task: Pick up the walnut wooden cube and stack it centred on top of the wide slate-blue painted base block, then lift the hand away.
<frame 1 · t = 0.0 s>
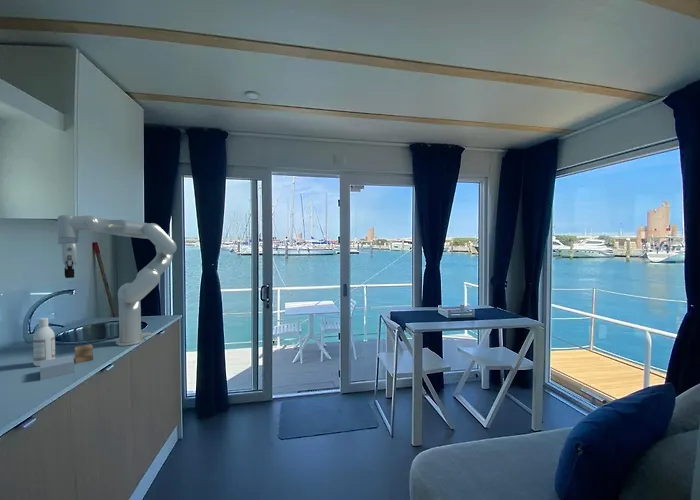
hand: (69, 276, 153), 37 cm above the worktop, tool pointing down, fingers open, 9 cm apart
walnut cube: (84, 360, 145), on the worktop
bath foam: (44, 364, 141), on the worktop
base block: (57, 373, 131), on the worktop
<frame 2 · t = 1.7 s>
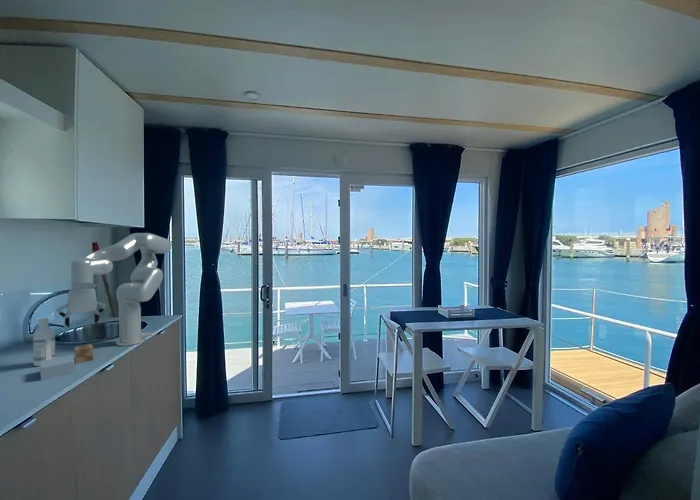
hand: (82, 324, 144), 16 cm above the worktop, tool pointing down, fingers open, 9 cm apart
nothing on the worktop moved.
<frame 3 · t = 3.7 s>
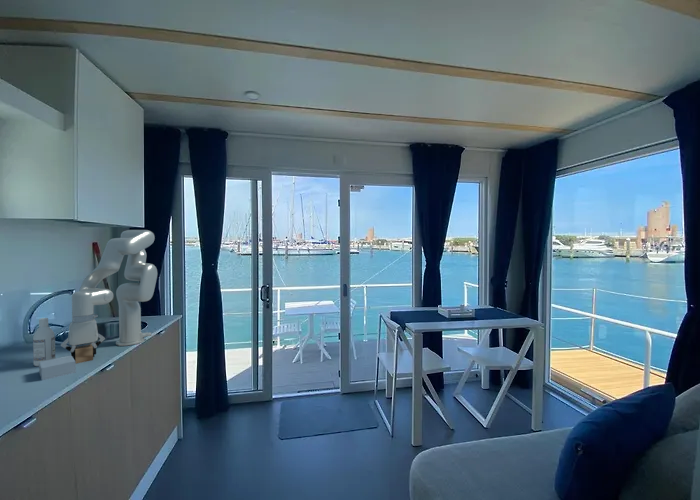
hand: (83, 357, 145), 1 cm above the worktop, tool pointing down, fingers closed on walnut cube, 6 cm apart
walnut cube: (83, 360, 145), on the worktop, touching gripper
everything else where it was.
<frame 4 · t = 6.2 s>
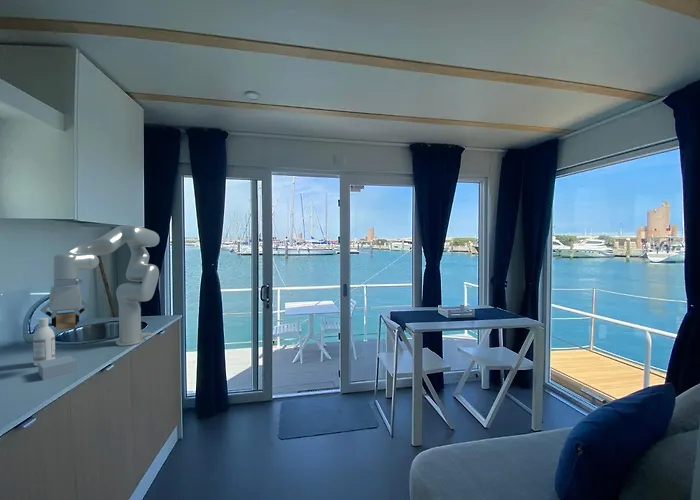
hand: (65, 325, 135), 18 cm above the worktop, tool pointing down, fingers closed on walnut cube, 6 cm apart
walnut cube: (65, 327, 135), point 17 cm above the worktop, touching gripper
everything else where it was.
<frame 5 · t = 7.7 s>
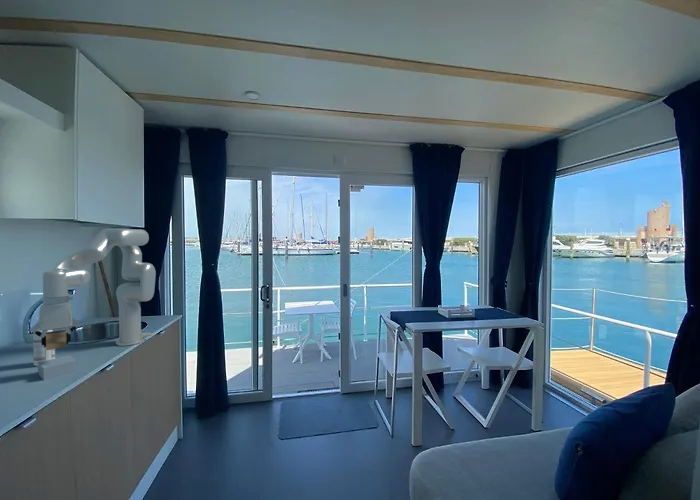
hand: (56, 344, 131), 12 cm above the worktop, tool pointing down, fingers closed on walnut cube, 6 cm apart
walnut cube: (56, 347, 131), point 11 cm above the worktop, touching gripper
everything else where it was.
when the fingers open (7 cm above the worktop, at t = 8.9 s): walnut cube drops 2 cm, resting on base block.
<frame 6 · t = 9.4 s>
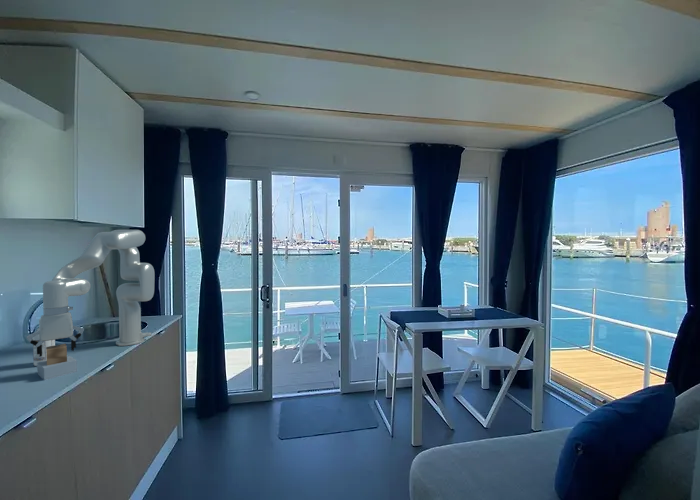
hand: (57, 352, 131), 8 cm above the worktop, tool pointing down, fingers open, 9 cm apart
walnut cube: (56, 361, 131), point 5 cm above the worktop, touching base block
base block: (57, 373, 131), on the worktop, touching walnut cube
everything else where it was.
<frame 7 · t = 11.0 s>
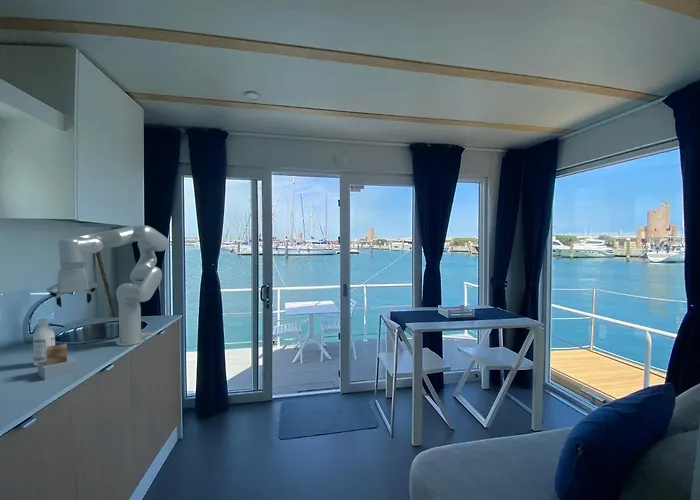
hand: (74, 304, 143), 26 cm above the worktop, tool pointing down, fingers open, 9 cm apart
walnut cube: (57, 361, 131), point 5 cm above the worktop
base block: (58, 373, 131), on the worktop
everything else where it was.
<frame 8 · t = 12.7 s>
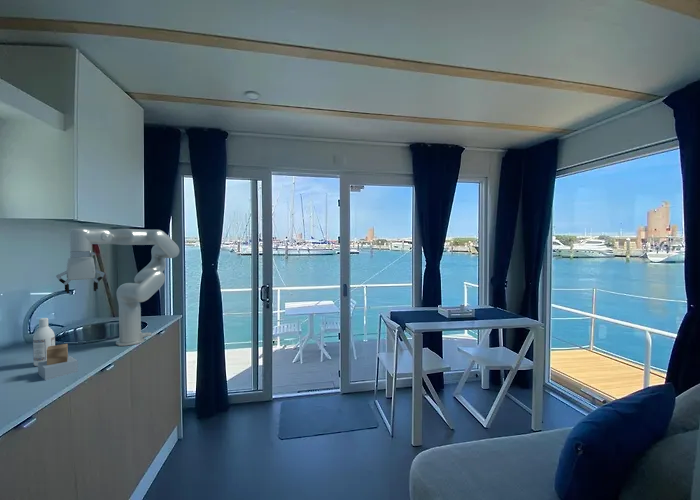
hand: (81, 291, 149), 30 cm above the worktop, tool pointing down, fingers open, 9 cm apart
nothing on the worktop moved.
at the end: walnut cube 0.5 cm off-centre on the base block, point 5.0 cm above the base block's base; walnut cube tilted 1°; the gripper is holding nothing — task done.
